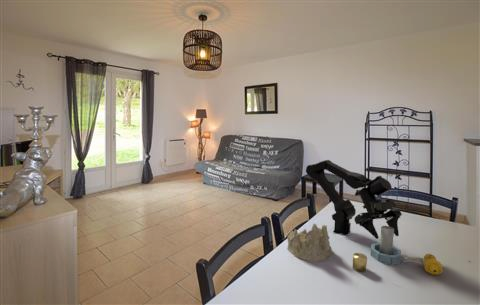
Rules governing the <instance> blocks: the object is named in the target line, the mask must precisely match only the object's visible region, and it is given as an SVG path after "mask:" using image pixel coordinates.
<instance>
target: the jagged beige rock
mask: <svg viewBox="0 0 480 305" xmlns="http://www.w3.org/2000/svg"><path fill="white" fill-rule="evenodd" d="M293 230H294V231H293ZM293 230H290V231H289V233H288V235H287V236H286V240H287V242H288V244H287V248H286V249H287V250H288V252H289V253H291V255H293V256H294V257H295V256H296V258H298V259H300V258H301V259H300V260H302V259H303V260H302V261H305V260H307V261H306V262H308V261H311V262H310V263H319V261H320V262H322V261H324V260H326V259H328V258H329V257H330V256H332V255H333V249H332V247H331V244H330V240H329V239H330V236H329V232H328V226H327V225H326V224H322V226H321V227H318V225H317V224H316V223H313V224H312V226H311V229H310V230H308V232H307V229H306V228H304V229H303V230H302V231H300V232H298V230H297V229H293Z"/></svg>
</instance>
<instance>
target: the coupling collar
mask: <svg viewBox="0 0 480 305" xmlns="http://www.w3.org/2000/svg"><path fill="white" fill-rule="evenodd" d="M379 248H380V242H376V243H375V242H374V243H371V246H370V253H369V254H370V256H371V258H373V259H375V260H376V261H377V262H380V263H383V264H387V265H397V264H401V263H402V260H401V256H402V250H401V249H400V248H398V247H396V246H394V245H393V247H392V255H391V256H390V255H386V254H382V253H380V252H379Z"/></svg>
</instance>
